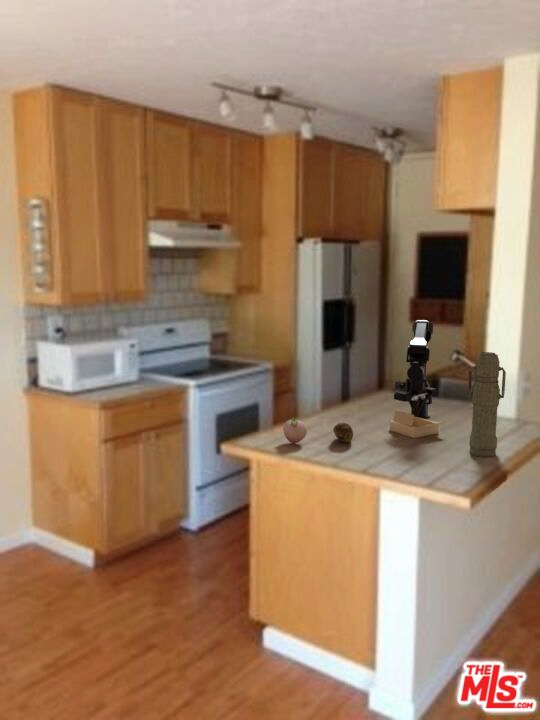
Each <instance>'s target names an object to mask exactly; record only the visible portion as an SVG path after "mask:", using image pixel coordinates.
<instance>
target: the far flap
mask: <svg viewBox="0 0 540 720" xmlns="http://www.w3.org/2000/svg"><path fill="white" fill-rule="evenodd" d="M413 419H414V415H412V414H411V413H408V412H405V411H401V410H398V409H395V410H394V415H393V419H392V420H393V421H396V422H400V423H403V424H407V425H410V426H412V425H413Z"/></svg>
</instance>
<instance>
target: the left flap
mask: <svg viewBox="0 0 540 720" xmlns="http://www.w3.org/2000/svg"><path fill="white" fill-rule="evenodd" d="M444 423H445V421H439V422H437V423H433V424H428V425H423V426H418V427H426V426H431V425H436V424H439V425H441V424H444Z"/></svg>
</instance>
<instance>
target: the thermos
mask: <svg viewBox="0 0 540 720" xmlns="http://www.w3.org/2000/svg"><path fill="white" fill-rule="evenodd" d="M473 370H475V373H474V376H475V379H474V383H473V386H472V380H473V379H472V378H473ZM501 371H502V382H501V389H500V386H499V377H500V372H501ZM506 373H507V372H506V370H505V368H504V367H501V366H500V359H499V355H498V354H496V352H491V351H490V352H488V351H482V352H480V353H478V355H477V358H476V361H475V365H474V366H471V367H470V368H469V369H468V387H467V389H468V390H467V394H468V395H469V397H471V403H472V417H471V418H472V421H471V422H472V423H471V431H470V435H469V445H468V446H469V454H470V455H472V456H474V457H478V456H479V458H493V456H494V457H496V456H497V446H498V438H497V422H498V421H497V419H498V408H499V405H500V400H501V399H504V398H505V394H506V393H505V391H506V376H507V375H506ZM500 390H501V391H500ZM500 392H501V393H500Z"/></svg>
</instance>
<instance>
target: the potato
mask: <svg viewBox="0 0 540 720" xmlns="http://www.w3.org/2000/svg"><path fill="white" fill-rule="evenodd" d="M332 429H333V430H332V431H333V433H334V436H335V438H336V439H337V440H338V441H340V442H343V443H350V442H351V441H352V440H353V437H354V431H353V428H352V426H351V425H350V424H349V423H347V422H346V423H345V422H339V423H337V424H336V425H334V427H333V428H332Z"/></svg>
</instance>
